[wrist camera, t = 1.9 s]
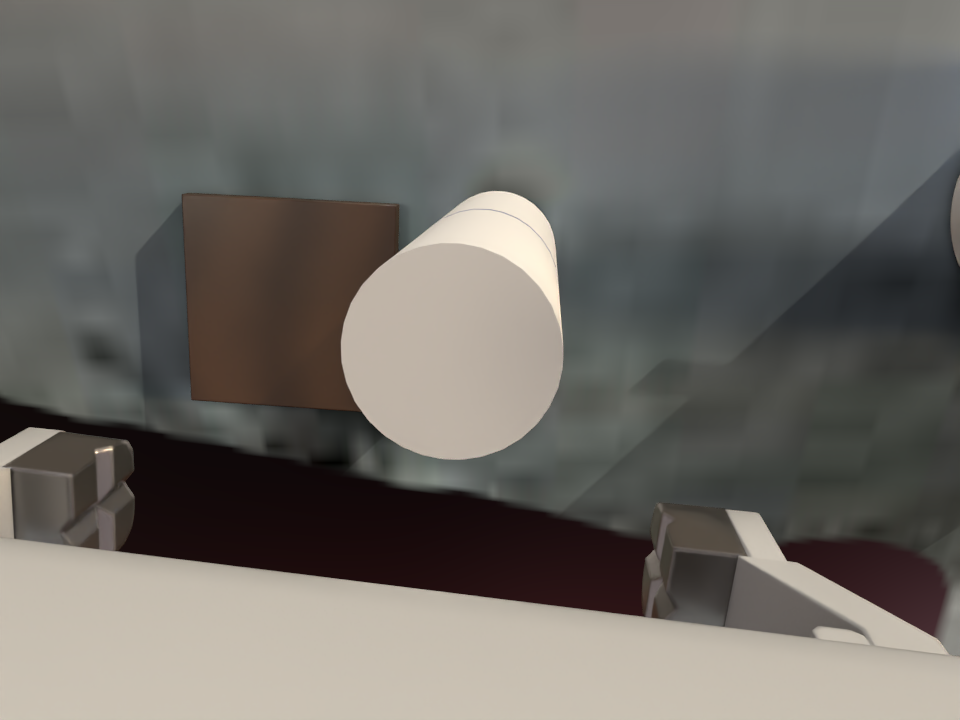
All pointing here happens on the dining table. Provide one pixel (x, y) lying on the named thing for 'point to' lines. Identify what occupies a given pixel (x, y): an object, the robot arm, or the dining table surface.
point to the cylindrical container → (460, 332)
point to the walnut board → (277, 294)
